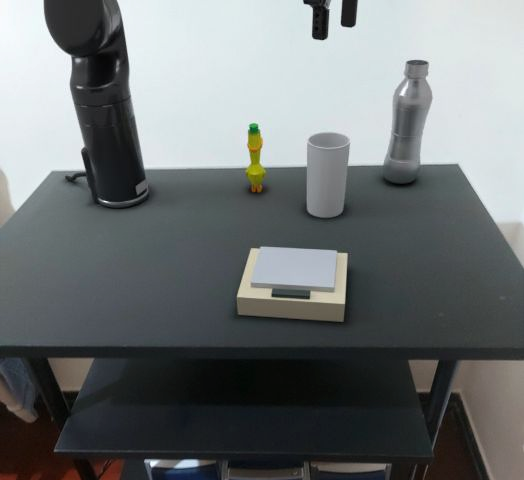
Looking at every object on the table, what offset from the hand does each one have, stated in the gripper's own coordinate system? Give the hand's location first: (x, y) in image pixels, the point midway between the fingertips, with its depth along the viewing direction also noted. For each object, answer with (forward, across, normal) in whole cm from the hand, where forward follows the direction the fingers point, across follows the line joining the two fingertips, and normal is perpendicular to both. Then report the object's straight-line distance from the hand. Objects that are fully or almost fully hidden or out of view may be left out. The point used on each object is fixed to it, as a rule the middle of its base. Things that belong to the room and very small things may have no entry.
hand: (334, 32), depth 78 cm
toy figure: (+26, +2, -13) cm, 29 cm away
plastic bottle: (+26, -14, +8) cm, 31 cm away
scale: (+26, +26, +10) cm, 38 cm away
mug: (+26, +1, +1) cm, 26 cm away
